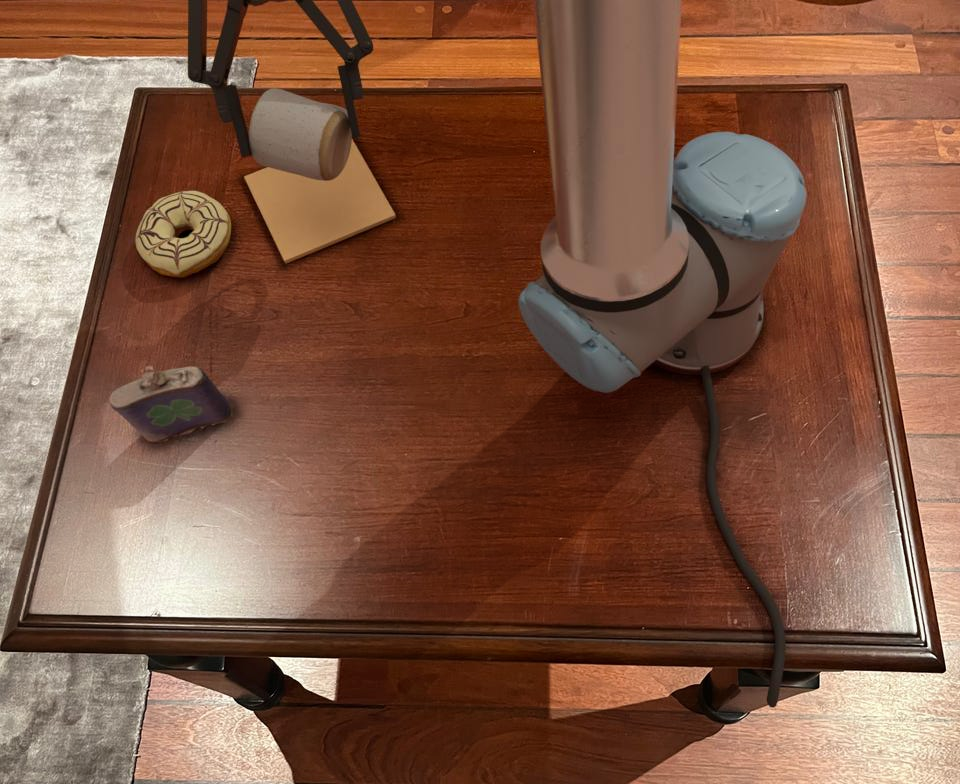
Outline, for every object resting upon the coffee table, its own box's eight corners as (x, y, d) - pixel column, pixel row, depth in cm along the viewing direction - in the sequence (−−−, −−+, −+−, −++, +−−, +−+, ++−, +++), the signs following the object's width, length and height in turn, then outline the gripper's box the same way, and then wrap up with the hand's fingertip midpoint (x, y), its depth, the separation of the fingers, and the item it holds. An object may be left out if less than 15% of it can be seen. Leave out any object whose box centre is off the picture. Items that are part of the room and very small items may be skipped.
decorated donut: (125, 252, 93) (111, 232, 90) (191, 193, 97) (180, 172, 93) (187, 297, 90) (174, 278, 87) (253, 234, 94) (243, 214, 90)
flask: (147, 447, 82) (100, 403, 73) (143, 422, 84) (96, 376, 74) (235, 420, 83) (200, 373, 74) (230, 396, 85) (194, 347, 75)
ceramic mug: (333, 199, 80) (317, 144, 73) (260, 180, 82) (238, 125, 75) (372, 124, 85) (361, 65, 78) (302, 107, 86) (284, 48, 79)
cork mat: (396, 218, 94) (395, 214, 94) (285, 264, 92) (284, 261, 91) (350, 138, 100) (349, 134, 99) (245, 179, 97) (243, 176, 97)
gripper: (368, -120, 75) (414, 125, 82) (126, -82, 73) (195, 164, 81) (368, -145, 68) (417, 126, 75) (100, -104, 66) (178, 169, 74)
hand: (302, 146), depth 78 cm, fingers closed on ceramic mug, 10 cm apart
